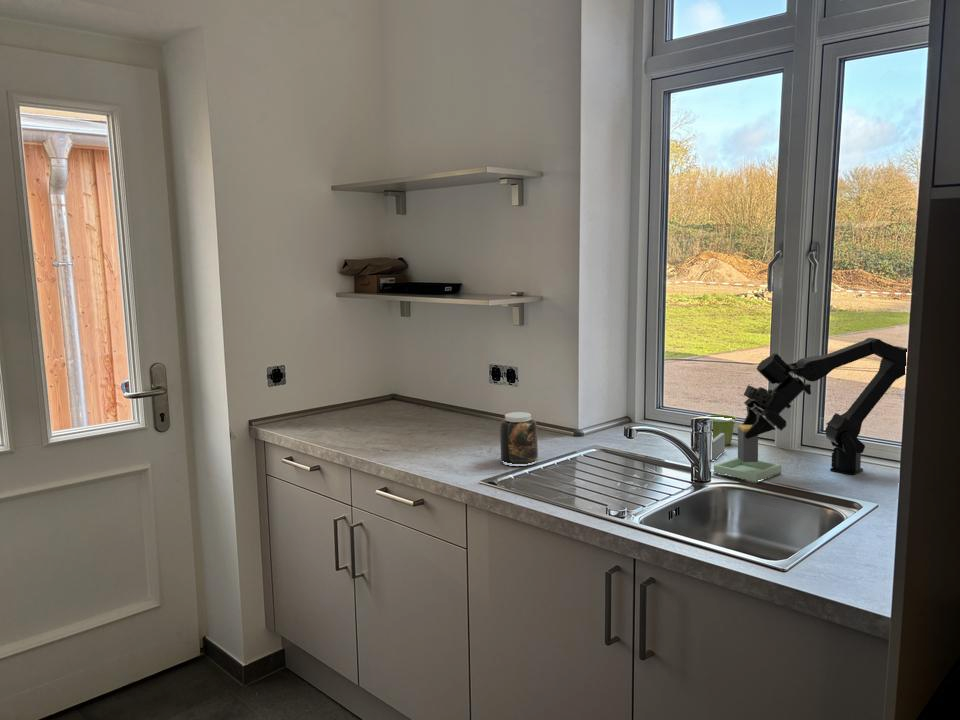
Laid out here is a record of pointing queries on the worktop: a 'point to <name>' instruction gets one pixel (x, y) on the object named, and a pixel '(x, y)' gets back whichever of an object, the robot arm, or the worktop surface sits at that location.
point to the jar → (518, 438)
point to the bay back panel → (718, 445)
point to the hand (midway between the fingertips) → (743, 435)
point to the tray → (748, 469)
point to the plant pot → (723, 427)
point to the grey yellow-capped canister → (747, 445)
